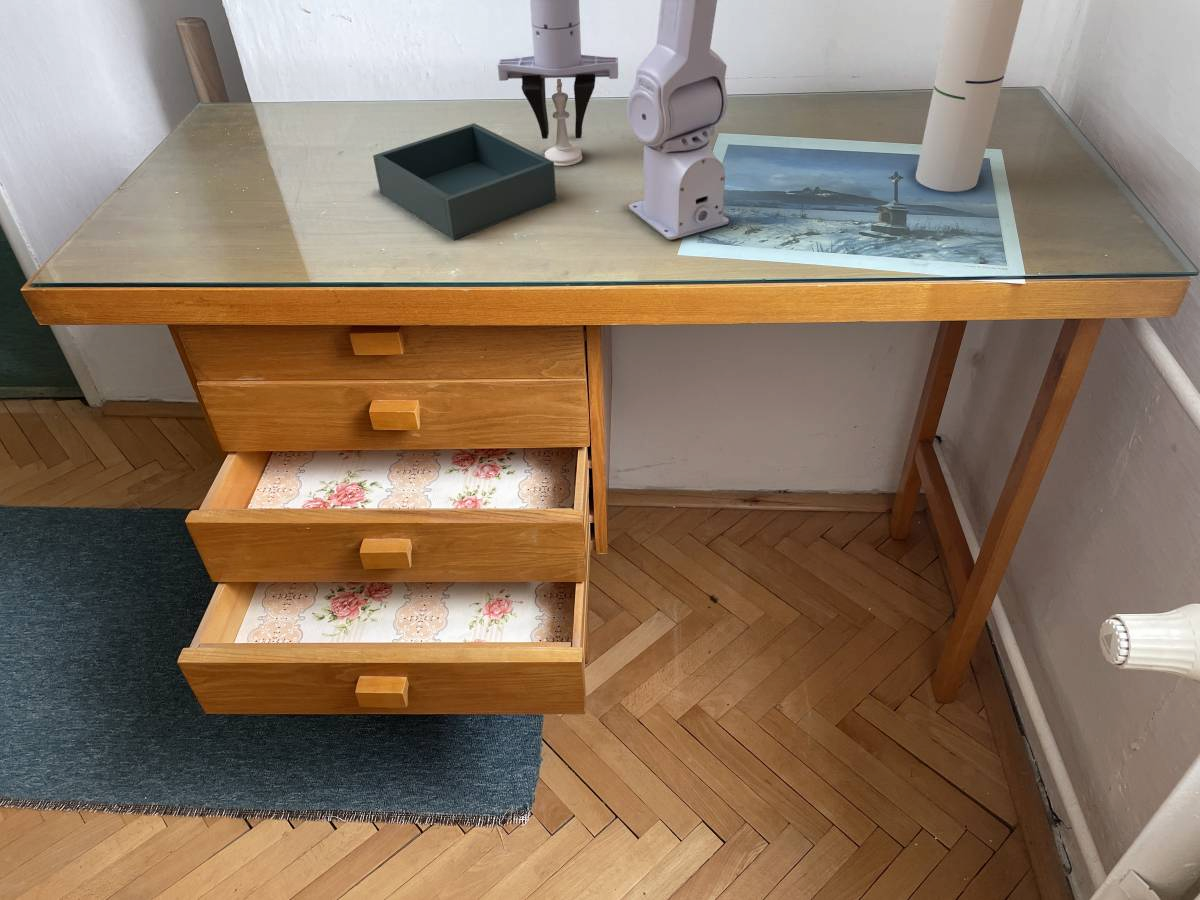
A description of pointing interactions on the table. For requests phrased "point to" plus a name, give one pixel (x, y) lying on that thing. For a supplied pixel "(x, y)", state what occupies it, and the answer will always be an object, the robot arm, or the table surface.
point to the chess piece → (562, 134)
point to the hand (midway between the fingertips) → (562, 135)
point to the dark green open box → (465, 179)
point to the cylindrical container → (966, 92)
